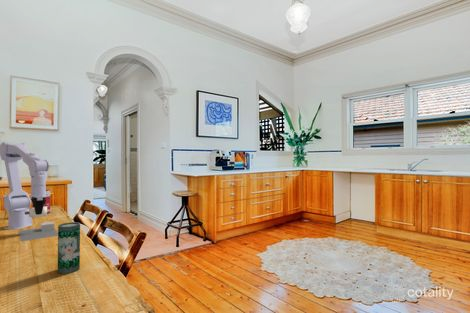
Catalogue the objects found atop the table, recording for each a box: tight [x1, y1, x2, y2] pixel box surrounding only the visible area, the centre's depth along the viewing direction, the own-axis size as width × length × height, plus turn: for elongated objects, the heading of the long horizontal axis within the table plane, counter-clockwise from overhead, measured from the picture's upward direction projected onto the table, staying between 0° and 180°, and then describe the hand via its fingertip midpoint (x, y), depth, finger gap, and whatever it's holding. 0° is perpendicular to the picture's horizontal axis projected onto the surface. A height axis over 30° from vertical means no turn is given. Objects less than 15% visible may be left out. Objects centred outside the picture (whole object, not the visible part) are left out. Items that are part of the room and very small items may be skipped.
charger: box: [40, 221, 55, 231], centre depth 134 cm, size 5×5×3 cm
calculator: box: [31, 189, 51, 215], centre depth 167 cm, size 11×4×15 cm, turn 179°
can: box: [57, 221, 81, 275], centre depth 89 cm, size 6×6×15 cm
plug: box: [25, 206, 53, 218], centre depth 129 cm, size 10×4×4 cm, turn 131°
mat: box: [18, 227, 58, 242], centre depth 127 cm, size 20×14×1 cm
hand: (38, 213), depth 129 cm, fingers closed on plug, 4 cm apart
